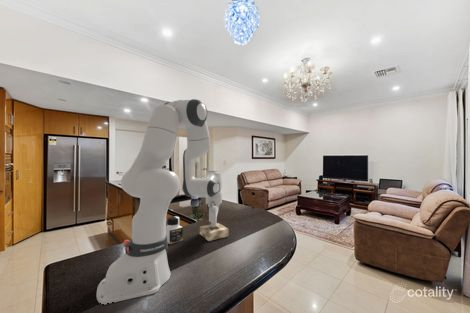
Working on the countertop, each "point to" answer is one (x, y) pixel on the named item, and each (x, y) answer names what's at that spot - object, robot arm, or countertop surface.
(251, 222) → the countertop surface
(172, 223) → the medicine bottle
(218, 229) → the socket block
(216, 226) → the pin
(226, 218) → the countertop surface
